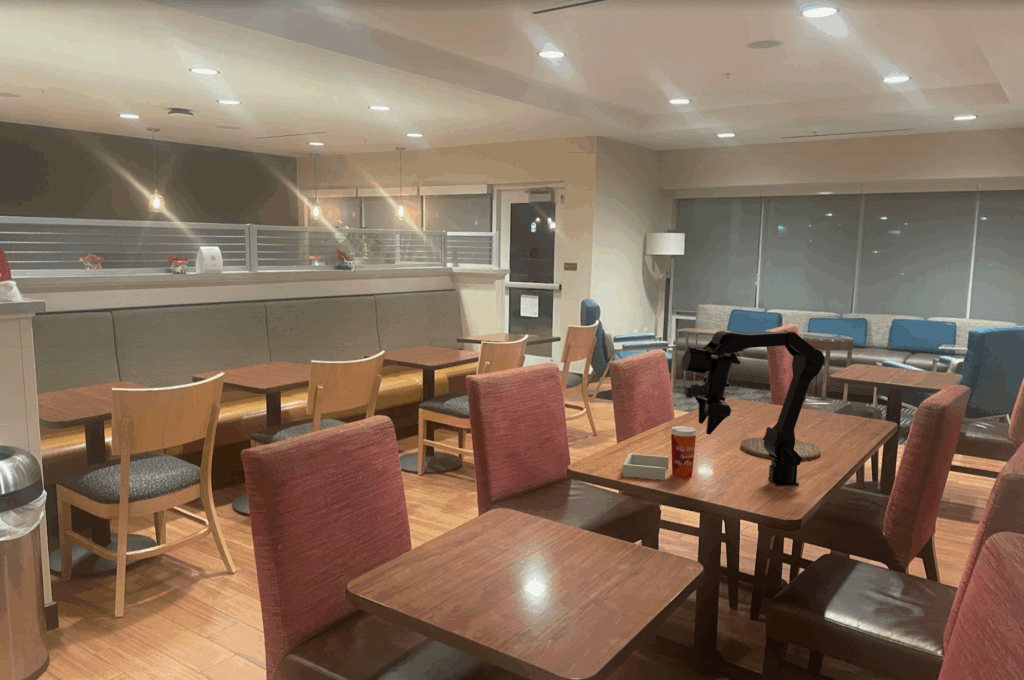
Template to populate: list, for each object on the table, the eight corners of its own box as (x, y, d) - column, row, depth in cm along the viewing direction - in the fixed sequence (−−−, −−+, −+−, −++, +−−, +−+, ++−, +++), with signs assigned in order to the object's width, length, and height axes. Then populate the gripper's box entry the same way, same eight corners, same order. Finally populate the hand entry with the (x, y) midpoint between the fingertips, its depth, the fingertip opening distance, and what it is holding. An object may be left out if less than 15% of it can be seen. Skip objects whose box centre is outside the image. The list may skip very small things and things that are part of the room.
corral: (668, 467, 214) (668, 456, 214) (664, 480, 202) (665, 468, 201) (628, 464, 218) (629, 453, 217) (622, 476, 205) (623, 464, 205)
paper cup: (676, 480, 202) (678, 432, 200) (664, 472, 209) (665, 426, 208) (701, 478, 204) (702, 431, 202) (687, 470, 211) (689, 425, 210)
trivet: (741, 439, 251) (741, 434, 251) (817, 446, 243) (817, 440, 243) (739, 457, 228) (739, 451, 227) (823, 465, 219) (823, 459, 219)
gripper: (682, 362, 204) (670, 413, 207) (696, 379, 186) (682, 434, 189) (720, 369, 204) (707, 420, 208) (738, 387, 186) (723, 442, 189)
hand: (704, 428), depth 198 cm, fingers open, 9 cm apart
